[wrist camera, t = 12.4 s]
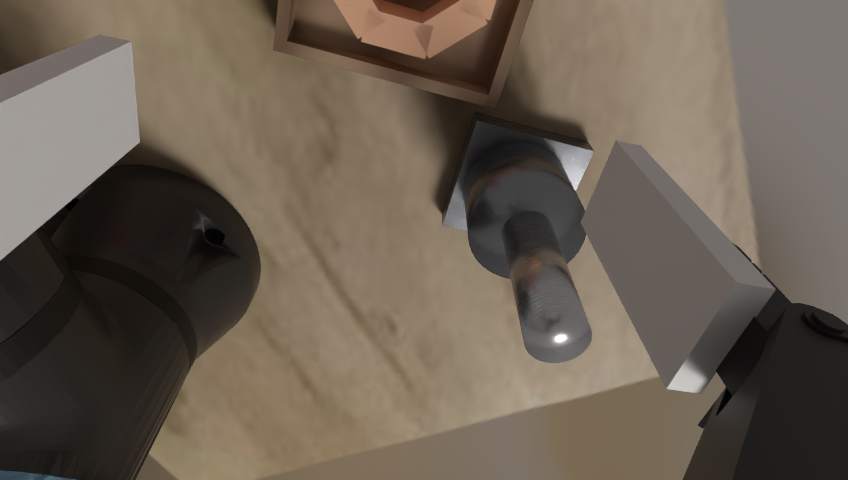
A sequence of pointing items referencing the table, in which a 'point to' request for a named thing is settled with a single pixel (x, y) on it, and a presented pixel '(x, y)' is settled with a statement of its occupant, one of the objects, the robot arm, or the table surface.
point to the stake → (526, 225)
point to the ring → (415, 24)
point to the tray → (442, 74)
